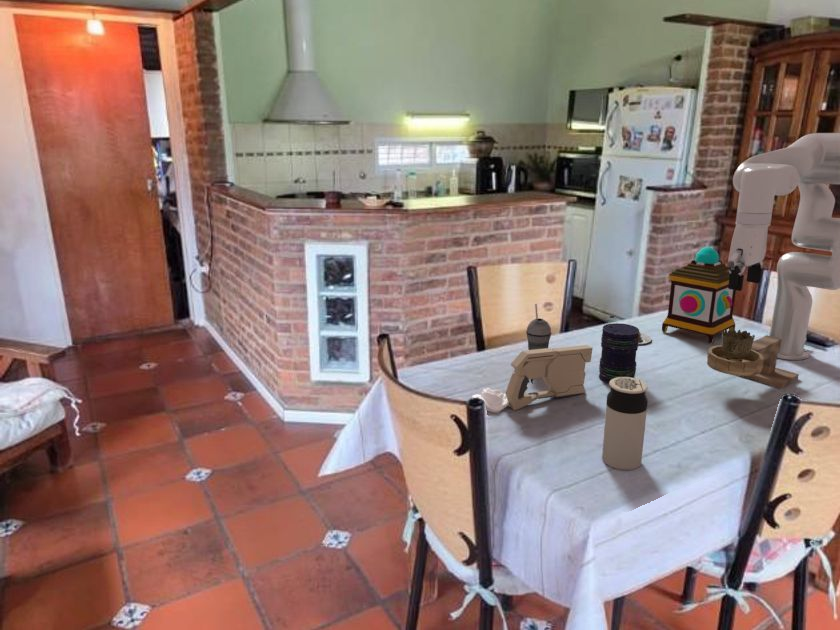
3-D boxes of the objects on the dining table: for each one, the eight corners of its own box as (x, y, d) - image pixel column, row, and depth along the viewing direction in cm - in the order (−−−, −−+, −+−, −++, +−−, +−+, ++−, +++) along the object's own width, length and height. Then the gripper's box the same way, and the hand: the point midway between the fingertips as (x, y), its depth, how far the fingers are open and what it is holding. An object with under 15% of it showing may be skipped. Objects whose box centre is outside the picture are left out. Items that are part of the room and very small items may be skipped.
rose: (468, 394, 149) (475, 379, 158) (468, 410, 150) (475, 394, 159) (507, 398, 146) (512, 382, 155) (507, 414, 147) (512, 398, 156)
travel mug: (600, 467, 124) (606, 389, 118) (603, 448, 131) (609, 374, 125) (640, 474, 121) (649, 394, 115) (641, 454, 128) (649, 378, 122)
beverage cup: (544, 375, 170) (547, 309, 164) (521, 370, 174) (523, 306, 168) (553, 367, 176) (556, 303, 170) (530, 362, 179) (532, 299, 173)
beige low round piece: (618, 332, 205) (619, 320, 204) (654, 338, 199) (655, 325, 198) (609, 343, 195) (610, 330, 194) (647, 349, 189) (648, 335, 188)
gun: (510, 411, 148) (516, 355, 144) (503, 406, 151) (509, 351, 147) (586, 400, 159) (593, 347, 155) (578, 395, 161) (585, 343, 158)
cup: (755, 367, 149) (760, 338, 147) (726, 367, 150) (730, 338, 147) (741, 356, 156) (745, 328, 154) (713, 357, 157) (717, 328, 154)
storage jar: (640, 377, 167) (646, 317, 162) (625, 388, 160) (631, 326, 155) (607, 368, 173) (612, 310, 168) (592, 379, 167) (596, 319, 161)
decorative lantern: (684, 320, 215) (693, 239, 206) (740, 333, 201) (753, 246, 192) (655, 332, 203) (664, 246, 194) (712, 347, 189) (725, 255, 180)
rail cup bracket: (746, 364, 174) (752, 327, 171) (797, 379, 164) (805, 340, 160) (691, 391, 157) (696, 351, 154) (744, 410, 147) (751, 367, 143)
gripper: (753, 213, 152) (745, 277, 157) (720, 222, 142) (712, 289, 147) (785, 215, 146) (775, 282, 152) (752, 225, 136) (743, 295, 142)
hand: (744, 285), depth 150 cm, fingers open, 9 cm apart
